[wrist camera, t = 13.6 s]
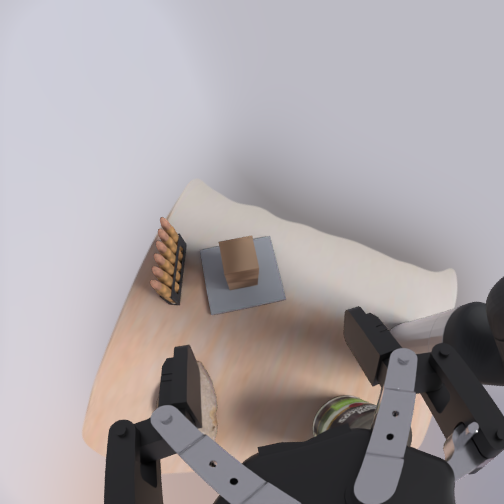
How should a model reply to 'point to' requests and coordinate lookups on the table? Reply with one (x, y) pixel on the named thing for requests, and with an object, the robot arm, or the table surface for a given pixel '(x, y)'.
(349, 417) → the coffee can
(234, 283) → the walnut block
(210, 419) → the rock
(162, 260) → the ammunition clip
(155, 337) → the table surface
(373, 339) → the robot arm
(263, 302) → the slate mat
